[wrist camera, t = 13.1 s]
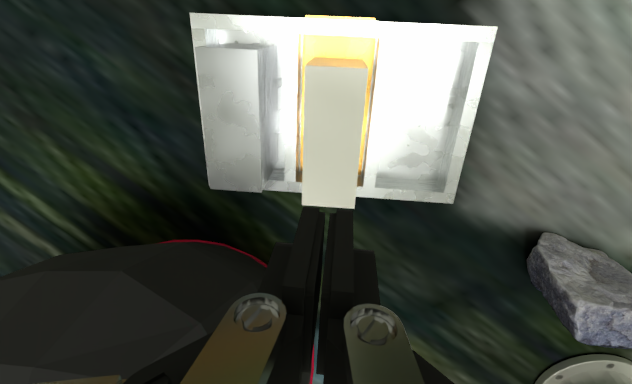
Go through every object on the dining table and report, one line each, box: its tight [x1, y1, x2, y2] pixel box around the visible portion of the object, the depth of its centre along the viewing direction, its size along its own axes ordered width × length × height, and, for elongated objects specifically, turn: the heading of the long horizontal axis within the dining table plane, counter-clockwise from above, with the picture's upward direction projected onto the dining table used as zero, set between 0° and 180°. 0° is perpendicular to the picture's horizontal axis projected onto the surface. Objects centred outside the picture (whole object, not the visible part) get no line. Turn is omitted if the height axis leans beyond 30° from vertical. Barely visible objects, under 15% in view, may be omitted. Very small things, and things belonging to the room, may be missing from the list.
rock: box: [527, 232, 632, 349], centre depth 30 cm, size 10×6×10 cm, turn 88°
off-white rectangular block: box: [302, 57, 369, 209], centre depth 26 cm, size 4×10×7 cm, turn 178°
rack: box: [190, 13, 498, 204], centre depth 26 cm, size 22×14×8 cm, turn 88°
